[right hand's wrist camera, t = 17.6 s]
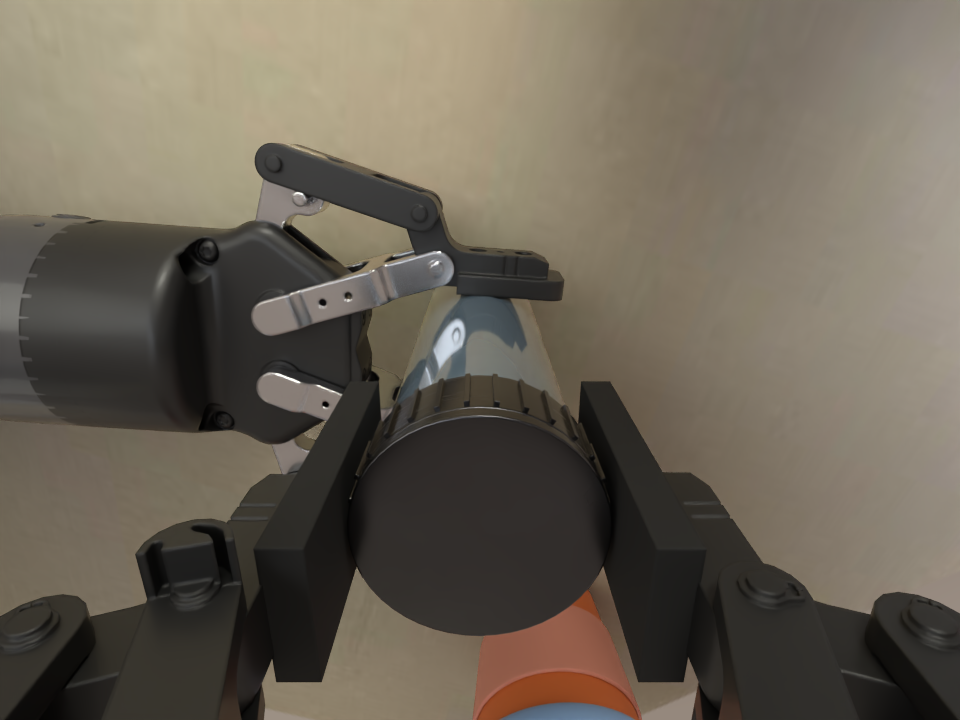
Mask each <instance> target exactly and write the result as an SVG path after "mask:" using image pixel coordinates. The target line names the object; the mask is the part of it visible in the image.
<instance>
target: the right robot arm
mask: <svg viewBox="0 0 960 720" xmlns="http://www.w3.org/2000/svg"><path fill="white" fill-rule="evenodd" d="M380 420H381V406H380V391H379V382H349V384H348V386H347V388H346V389H345V391H344V393H343V394H342V396H341V398H340V400H339V401H338V403H337V405H336V407H335V408H334V410H333V412H332V413H331V415H330V417H329V419H328V420H327V422H326V424H325V426H324V427H323V429H322V431H321V432H320V434H319V436H318V438H317V439H316V441H315V443H314V445H313V446H312V448H311V450H310V452H309V453H308V455H307V457H306V458H305V460H304V462H303V464H302V465H301V467H300V469H299V471H298V472H297V474H270V475H268V476H267V477H265V478H264V479H263V480H261V481H260V482H258V483H257V484H256V485H254V486H253V487H251V488H250V490H249V491H248V493H247V494H246V496H245V497H244V499H243V500H242V501H241V503H240V507H237V509H236V510H235V512H234V513H233V514H232V516H231V520H228V522H227V523H225V522H223V521H219V520H215V519H195V520H191V521H187V522H183V523H179V524H175V525H173V526H171V527H169V528H167V529H164V530H162V531H160V532H158V533H157V534H155V535H154V536H153V537H151V538H150V539H149V540H147V541H146V542H144V544H143V545H142V546H141V548H140V549H139V550H138V552H137V553H136V554H135V555H136V559H137V563H138V566H139V570H140V574H141V578H142V581H143V585H144V589H145V593H146V596H147V602H146V603H144V604H141V605H138V606H134V607H131V608H126V609H122V610H118V611H113V612H109V613H105V614H100V615H96V616H91V617H90V615H89V612H88V608H87V605H86V603H85V602H84V601H82V600H81V599H80V598H79V597H78V596H71V595H64V594H62V595H55V596H48V597H42V598H40V599H37V600H34V601H31V602H28V603H25V604H22V605H20V606H18V607H17V608H15V609H13V610H11V611H9V612H7V613H6V614H4V615H2V616H0V720H264V712H265V700H264V693H263V688H262V682H263V679H264V677H265V674H266V672H267V669H268V667H269V665H270V662H271V660H273V665H274V671H275V677H276V682H322V679H323V676H324V673H325V669H326V666H327V663H328V659H329V656H330V653H331V649H332V646H333V643H334V639H335V636H336V633H337V629H338V626H339V623H340V619H341V616H342V613H343V610H344V606H345V603H346V600H347V596H348V593H349V590H350V586H351V583H352V580H353V576H354V573H355V570H356V564H355V561H354V559H353V556H352V553H351V550H350V546H349V540H348V535H347V517H348V509H349V504H350V503H348V500H349V496H350V494H351V491H352V489H353V486H354V483H355V481H356V479H354V476H355V474H356V471H357V469H358V466H359V463H360V461H361V458H362V456H363V453H364V451H365V448H366V446H367V443H368V441H371V440H372V437H373V435H374V432H375V429H376V427H377V424H378V422H379V421H380ZM381 421H382V420H381ZM579 423H582V425H583V426H584V429H585V431H586V434H587V437H588V439H589V442H590V444H591V443H592V444H593V447H594V450H595V452H596V455H597V457H598V460H599V462H600V465H601V467H602V470H603V472H604V475H605V478H606V480H607V482H605V483H604V484H605V487H606V490H607V492H608V495H609V497H610V500H611V513H612V537H611V543H610V548H609V551H608V554H607V557H606V560H605V563H604V565H603V566H604V570H605V573H606V576H607V580H608V583H609V586H610V590H611V593H612V596H613V600H614V603H615V606H616V609H617V613H618V616H619V619H620V623H621V626H622V629H623V633H624V636H625V639H626V643H627V646H628V649H629V653H630V656H631V659H632V663H633V666H634V669H635V673H636V676H637V679H638V682H684V677H685V671H686V665H687V660H688V657H689V660H690V662H691V664H692V667H693V669H694V672H695V674H696V676H697V679H698V681H699V683H698V688H697V693H696V698H695V704H694V709H693V714H692V720H960V613H958V612H956V611H954V610H952V609H950V608H949V607H947V606H945V605H943V604H941V603H939V602H936V601H934V600H931V599H928V598H925V597H922V596H919V595H915V594H908V593H901V592H895V593H888V594H883V595H882V596H880V597H879V598H878V599H877V600H876V601H875V602H874V605H873V608H872V612H871V615H870V614H866V613H861V612H857V611H853V610H848V609H844V608H839V607H835V606H831V605H827V604H823V603H820V602H817V601H813V598H812V597H811V595H810V594H809V592H808V591H807V589H806V588H805V586H804V585H802V584H801V583H800V582H799V581H798V580H796V579H795V578H794V577H793V576H792V575H790V574H788V573H786V572H784V571H782V570H780V569H778V568H776V567H774V566H771V565H768V564H764V563H763V562H762V561H761V560H760V558H759V557H758V555H757V554H756V552H755V551H754V549H753V548H752V547H751V545H750V544H749V542H748V541H747V539H746V538H745V537H744V535H743V534H742V532H741V531H740V529H739V528H738V527H737V525H736V524H735V522H734V521H733V519H730V515H729V514H728V512H727V511H726V509H725V508H724V506H723V505H721V504H720V501H719V499H718V498H717V496H716V495H715V493H714V492H713V491H712V489H711V488H710V486H708V485H707V484H706V483H704V482H703V481H701V480H700V479H699V478H697V477H696V476H694V475H693V474H692V473H663V472H662V471H661V469H660V467H659V465H658V464H657V462H656V460H655V458H654V457H653V455H652V453H651V451H650V450H649V448H648V446H647V445H646V443H645V441H644V439H643V438H642V436H641V434H640V432H639V431H638V429H637V427H636V426H635V424H634V422H633V420H632V419H631V417H630V415H629V413H628V412H627V410H626V408H625V407H624V405H623V403H622V401H621V400H620V398H619V396H618V394H617V393H616V391H615V389H614V388H613V386H612V384H611V382H581V392H580V406H579V420H578V424H579Z"/></svg>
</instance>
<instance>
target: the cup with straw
mask: <svg viewBox="0 0 960 720" xmlns="http://www.w3.org/2000/svg"><path fill="white" fill-rule="evenodd" d="M473 720H642V718H641V713H640V710H639V707H638V705H637V702H636V700H635V697H634V695H633V692H632V690H631V687H630V684H629V682H628V679H627V677H626V674H625V672H624V669H623V667H622V664H621V661H620V659H619V656H618V654H617V651H616V649H615V646H614V644H613V641H612V639H611V636H610V634H609V632H608V630H607V628H606V627H605V626H604V625H603V623H602V622H601V619H600V617H599V614H598V612H597V609H596V606H595V604H594V601H593V599H592V597H591V594H590V592H589V590H587V591H586V592H585V593H584V594H583V595H582V596H581V597H580V598H579V599H578V600H577V601H576V602H574V603H573V604H572V605H571V606H570V607H569V608H567V609H566V610H564V611H563V612H561V613H560V614H558V615H557V616H555V617H553V618H551V619H549V620H547V621H545V622H543V623H541V624H538V625H535V626H533V627H530V628H527V629H524V630H520V631H516V632H512V633H506V634H500V635H488V636H484V639H483V641H482V644H481V649H480V656H479V666H478V675H477V684H476V693H475V702H474V712H473Z"/></svg>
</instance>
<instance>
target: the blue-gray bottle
mask: <svg viewBox="0 0 960 720" xmlns="http://www.w3.org/2000/svg"><path fill="white" fill-rule="evenodd" d="M456 291H457V287H453V286H441V287H437V288H434V291H433V293H432V296H431V299H430V302H429V305H428V308H427V311H426V314H425V317H424V319H423V322H422V325H421V328H420V331H419V334H418V337H417V340H416V343H415V346H414V348H413V351H412V354H411V357H410V360H409V363H408V366H407V369H406V372H405V375H404V377H403V380H402V383H401V386H400V389H399V392H398V395H397V398H396V401H395V403H397V402H398V403H399V404H400V403H401V402H402V401H404V400H405V399H406V398H408V397H409V396H411V395H412V394H413V393H414V390H415V389H417V388H419V389H420V390H421V389H423V388H425V387H427V386H429V385H431V384H434V383H437V382H438V381H439V379H441V378H444V380H446V379H451V378H456V377H461V376H465V374H467V373H470V374H471V376H473V375H486V376H492V375H493V374H498V377H503V378H509V379H513V380H516V381H519V379H522V380H524V382H525V383H526V384H528V385H530V386H532V387H535V388H537V389H539V390H541V391H543V390H546V391H548V394H549V396H550V397H552V398H553V399H555V400H556V401H557V402H558V403H559V404H561V405H562V406H563V405H564V404H565V403H564V400H563V397H562V394H561V391H560V388H559V385H558V382H557V379H556V376H555V374H554V371H553V368H552V365H551V362H550V359H549V356H548V353H547V350H546V347H545V345H544V342H543V339H542V336H541V333H540V330H539V327H538V324H537V321H536V319H535V316H534V313H533V310H532V307H531V304H530V301H529V300H528V299H513V298H499V297H487V296H470V295H456Z"/></svg>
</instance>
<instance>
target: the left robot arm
mask: <svg viewBox="0 0 960 720" xmlns="http://www.w3.org/2000/svg"><path fill="white" fill-rule="evenodd" d="M255 166H256V169H257V171H258V173H259V175H260V176H261V177H262V178H263V184H262V189H261V195H260V200H259V205H258V210H257V216H256V220H255V221H249V222H246V223H244V224H242V225H240V226H239V227H237V228H234V229H215V228H201V227H187V226H173V225H159V224H146V223H132V222H117V221H104V220H91V218H88V217H83V216H76V215H66V214H57V215H55V216H51V217H49V216H36V215H0V420H7V421H17V422H30V423H46V424H61V425H76V426H91V427H107V428H124V429H140V430H155V431H171V432H187V433H202V432H212V431H223V430H233V431H238V432H241V433H244V434H246V435H249V436H251V437H253V438H254V439H256V440H258V441H260V442H263V443H266V444H272V447H273V450H274V452H275V455H276V458H277V461H278V464H279V466H280V469H281V472H282V474H297V472H298V471H299V469H300V467H301V465H302V464H303V462H304V460H305V458H306V457H307V455H308V453H309V452H310V450H311V448H312V446H313V445H314V443H315V441H316V440H314V439H310V438H308V437H306V436H305V435H304V434H303V433H304V432H306V431H307V430H309V429H311V428H312V427H314V426H316V425H318V424H319V423H321V422H323V421H324V420H326V421H327V420H328V419H329V417H330V415H331V413H332V412H333V410H334V408H335V407H336V405H337V403H338V401H339V400H340V398H341V396H342V394H343V393H344V391H345V389H346V388H347V386H348V384H349V382H379V391H380V406H381V420H382V421H384V420H385V418H386V417H387V416H388V415H389V414H390V413H391V412H392V409H393V406H394V404H395V401H396V398H397V395H398V392H399V389H400V386H401V383H402V381H400V379H399V378H398V377H397V376H396V375H394V374H393V373H390V372H388V371H385V370H383V369H380V368H378V367H375V366H373V365H372V352H371V348H370V345H369V341H368V337H367V330H368V327H369V323H370V320H371V316H372V308H374V307H378V306H381V305H383V304H386V303H388V302H390V301H392V300H394V299H396V298H400V297H404V296H407V295H411V294H415V293H418V292H422V291H426V290H430V289H433V288H437V287H441V286H453V287H457V291H456V295H470V296H487V297H499V298H513V299H528V300H542V301H560V300H562V294H563V286H564V279H563V277H562V276H561V274H560V273H559V272H558V271H554V270H549V269H548V268H549V264H548V262H547V261H546V259H545V257H543V256H541V255H539V254H537V253H535V252H532V251H525V250H511V249H497V248H483V247H469V246H463V245H461V244H459V243H457V242H456V241H455V240H454V239H453V238H452V237H451V235H450V234H449V231H448V228H447V225H446V221H445V218H444V215H443V211H442V210H443V205H442V201H441V199H440V197H439V196H438V195H437V194H436V193H434V192H433V191H430V190H427V189H424V188H422V187H419V186H416V185H413V184H410V183H407V182H404V181H402V180H399V179H396V178H393V177H390V176H387V175H384V174H382V173H379V172H376V171H373V170H370V169H367V168H364V167H361V166H359V165H356V164H353V163H350V162H347V161H344V160H341V159H339V158H336V157H333V156H330V155H327V154H324V153H321V152H318V151H316V150H313V149H310V148H307V147H304V146H301V145H295V144H284V143H268V144H265V145H263V146H261V147H260V148H259V149H258V151H257V152H256V155H255ZM330 203H332V204H335V205H338V206H341V207H344V208H347V209H350V210H353V211H356V212H359V213H361V214H364V215H367V216H370V217H373V218H376V219H379V220H382V221H385V222H388V223H391V224H394V225H397V226H400V227H403V228H406V229H407V231H408V234H409V238H410V241H411V244H412V247H413V248H411V249H407V250H404V251H400V252H396V253H388V254H383V255H380V256H376V257H372V258H369V259H365V260H362V261H358V262H354V263H351V264H347V265H342V264H341V263H339V262H338V261H337V260H336V259H334V258H333V257H332V256H331V255H329V254H328V253H327V252H325V251H324V250H323V249H322V248H320V247H319V246H318V245H316V244H315V243H314V242H313V241H311V240H310V239H309V238H307V237H306V236H305V235H304V234H302V233H301V232H300V231H298V230H297V229H296V228H295V227H293V226H292V225H291V222H292V220H293V218H294V217H295V216H296V215H305V216H311V215H314V214H317V213H320V212H322V211H324V210H325V209H327V207H328V206H329V204H330Z"/></svg>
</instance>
